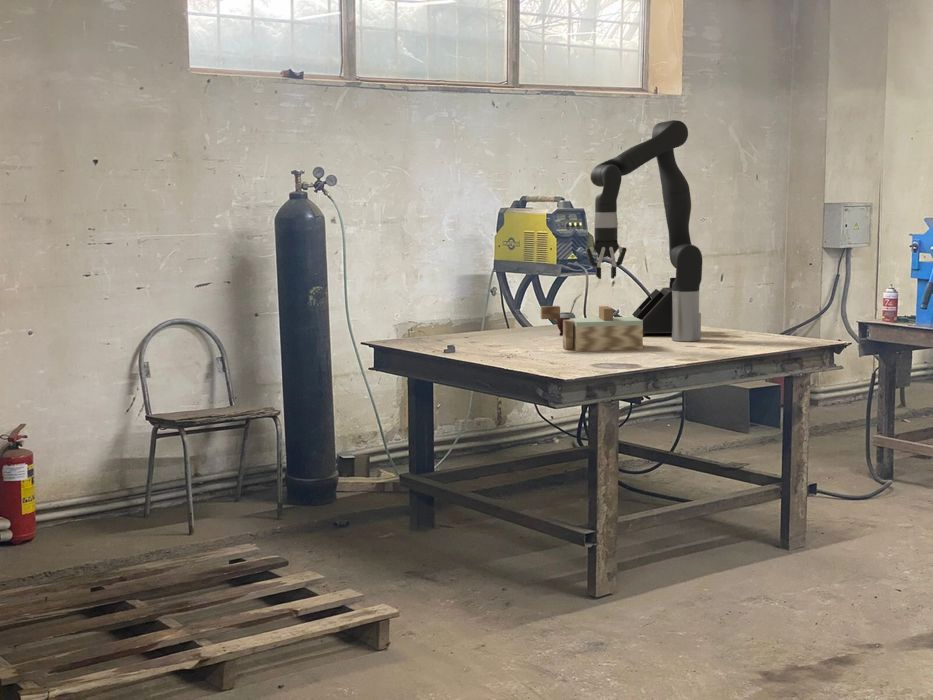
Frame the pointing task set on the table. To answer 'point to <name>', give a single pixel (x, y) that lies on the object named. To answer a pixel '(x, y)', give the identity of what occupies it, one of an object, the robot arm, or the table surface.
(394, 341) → the table surface
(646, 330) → the voltmeter
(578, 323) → the lid
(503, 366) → the table surface
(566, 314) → the mate gourd
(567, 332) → the toolbox
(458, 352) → the table surface
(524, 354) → the table surface
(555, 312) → the wooden block
